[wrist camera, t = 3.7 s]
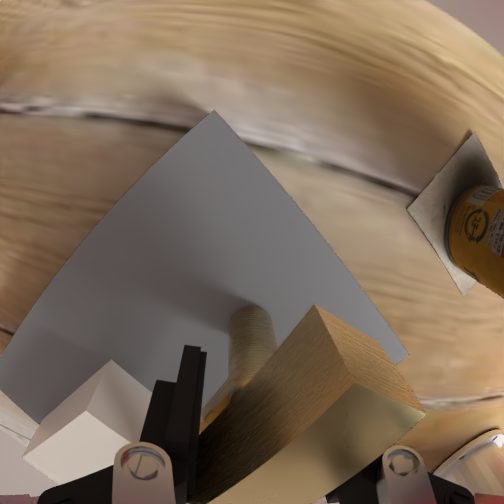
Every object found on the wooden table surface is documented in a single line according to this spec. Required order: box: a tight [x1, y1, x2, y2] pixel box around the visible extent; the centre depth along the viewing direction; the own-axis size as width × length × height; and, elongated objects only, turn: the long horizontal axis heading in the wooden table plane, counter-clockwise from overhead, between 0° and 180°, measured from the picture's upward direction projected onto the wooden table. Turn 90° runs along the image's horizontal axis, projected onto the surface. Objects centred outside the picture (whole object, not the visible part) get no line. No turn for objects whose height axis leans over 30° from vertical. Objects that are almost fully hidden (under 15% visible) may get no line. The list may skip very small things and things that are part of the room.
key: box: [186, 304, 427, 504], centre depth 10 cm, size 2×12×9 cm, turn 146°
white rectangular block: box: [22, 359, 152, 485], centre depth 14 cm, size 6×10×4 cm, turn 131°
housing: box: [0, 110, 409, 425], centre depth 17 cm, size 16×23×3 cm
